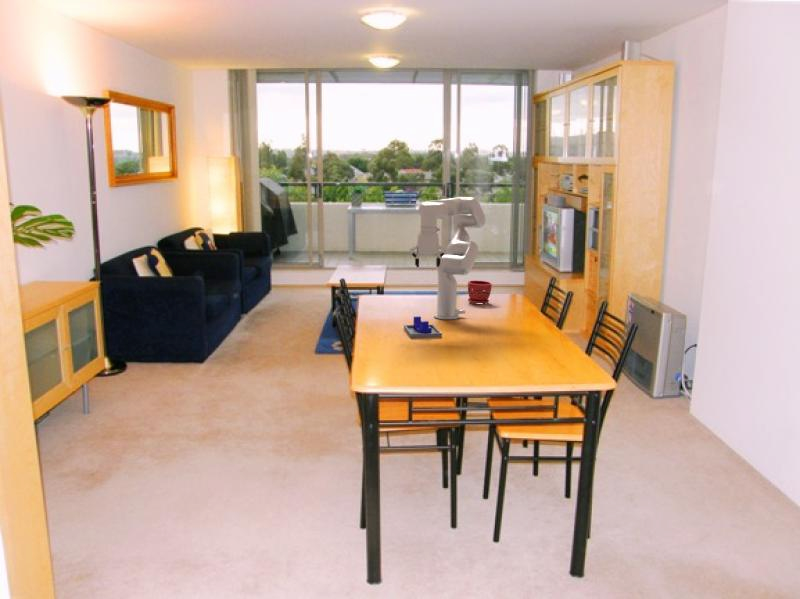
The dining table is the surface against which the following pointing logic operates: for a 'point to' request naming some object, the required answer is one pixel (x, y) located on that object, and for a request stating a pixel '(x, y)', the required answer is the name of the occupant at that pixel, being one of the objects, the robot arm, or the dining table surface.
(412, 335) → the shallow rectangular tray
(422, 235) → the robot arm
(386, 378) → the dining table surface
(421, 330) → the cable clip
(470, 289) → the plant pot
